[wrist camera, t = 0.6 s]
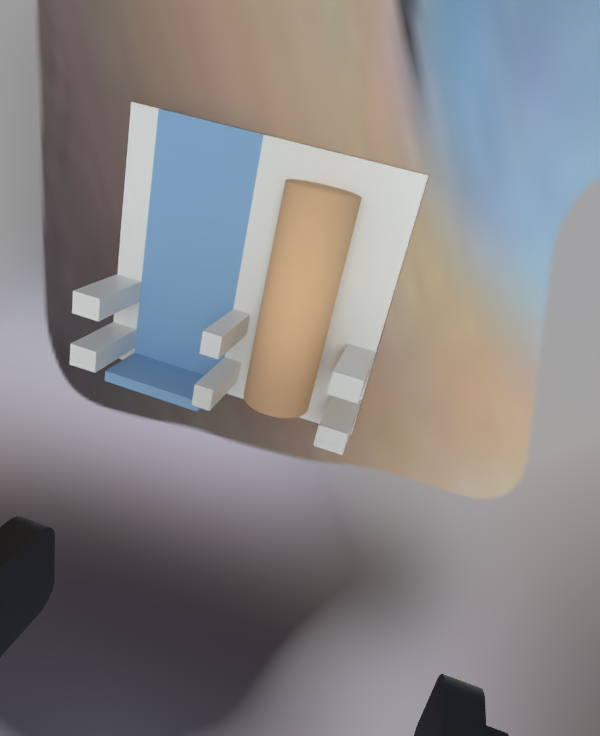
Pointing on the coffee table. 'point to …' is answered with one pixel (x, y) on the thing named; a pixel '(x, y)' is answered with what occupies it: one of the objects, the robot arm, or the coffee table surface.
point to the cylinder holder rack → (236, 265)
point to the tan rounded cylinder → (299, 296)
